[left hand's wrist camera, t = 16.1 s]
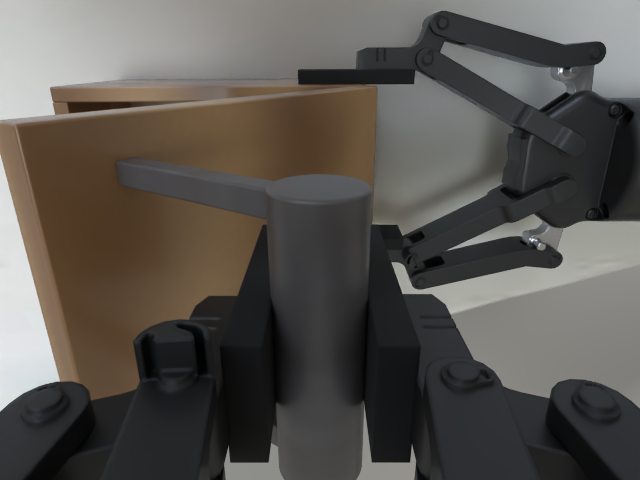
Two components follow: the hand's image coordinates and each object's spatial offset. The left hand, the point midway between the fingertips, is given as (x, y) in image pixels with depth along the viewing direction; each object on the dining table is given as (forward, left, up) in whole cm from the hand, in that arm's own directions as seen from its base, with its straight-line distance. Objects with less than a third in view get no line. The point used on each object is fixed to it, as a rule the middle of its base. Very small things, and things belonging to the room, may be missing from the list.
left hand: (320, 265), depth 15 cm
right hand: (-1, 0, -15) cm, 15 cm away
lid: (-3, 0, -5) cm, 6 cm away
